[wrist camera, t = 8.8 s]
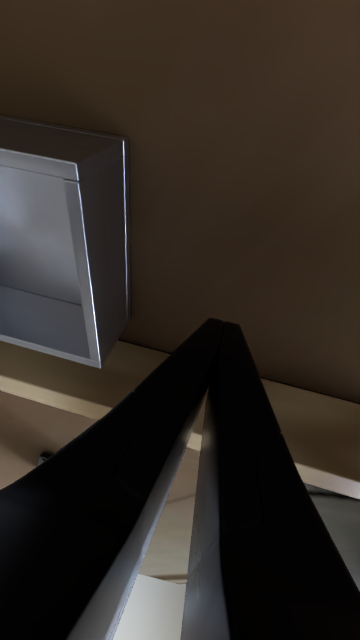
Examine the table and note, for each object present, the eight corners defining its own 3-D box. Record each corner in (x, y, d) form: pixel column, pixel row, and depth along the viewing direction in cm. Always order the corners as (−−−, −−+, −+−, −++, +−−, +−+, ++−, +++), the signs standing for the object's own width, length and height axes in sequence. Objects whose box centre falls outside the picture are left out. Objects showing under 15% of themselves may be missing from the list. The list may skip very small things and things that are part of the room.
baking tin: (129, 137, 9) (75, 162, 6) (131, 318, 13) (100, 369, 11) (-108, 94, 10) (-225, 104, 7) (-28, 277, 14) (-85, 317, 12)
